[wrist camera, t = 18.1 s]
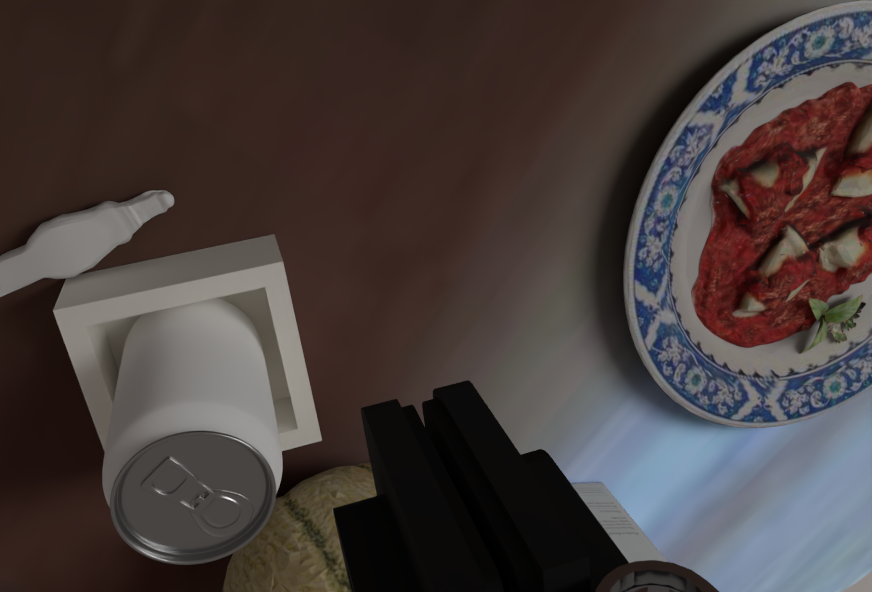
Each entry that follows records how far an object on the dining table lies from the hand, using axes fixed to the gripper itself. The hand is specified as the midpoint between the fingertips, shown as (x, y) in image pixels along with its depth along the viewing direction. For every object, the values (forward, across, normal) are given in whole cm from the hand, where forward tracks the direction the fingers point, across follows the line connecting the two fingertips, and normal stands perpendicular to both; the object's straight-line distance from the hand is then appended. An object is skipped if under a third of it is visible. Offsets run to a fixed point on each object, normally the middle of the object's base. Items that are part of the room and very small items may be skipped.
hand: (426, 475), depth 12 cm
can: (+26, +6, +10) cm, 29 cm away
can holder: (+27, +6, +10) cm, 29 cm away
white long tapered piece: (+28, +12, +4) cm, 30 cm away
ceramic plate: (+28, -30, +11) cm, 42 cm away
